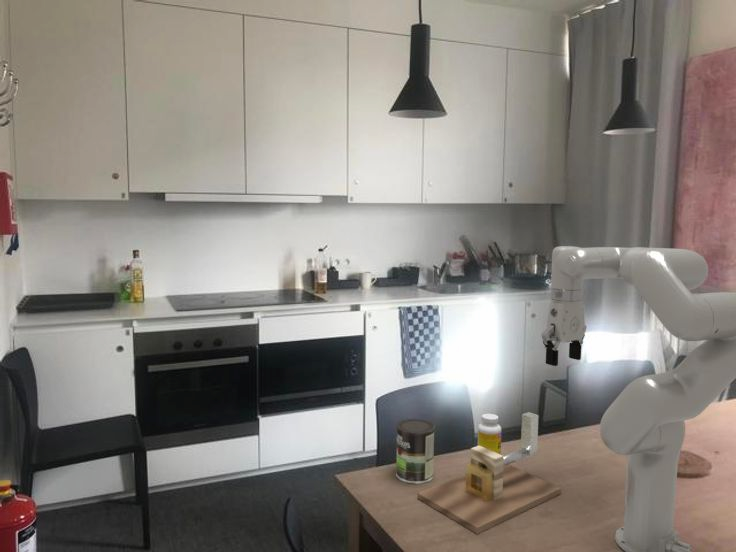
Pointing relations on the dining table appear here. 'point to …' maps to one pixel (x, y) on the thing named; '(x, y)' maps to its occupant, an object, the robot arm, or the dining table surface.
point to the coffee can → (415, 451)
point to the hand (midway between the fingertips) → (563, 361)
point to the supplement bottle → (490, 433)
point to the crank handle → (524, 440)
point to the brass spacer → (487, 481)
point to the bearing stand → (509, 494)
